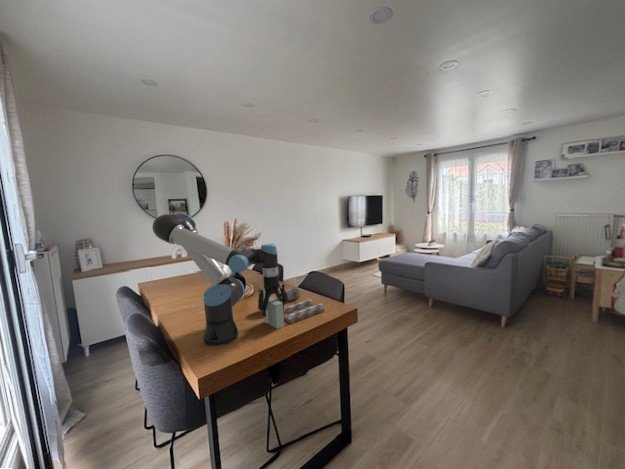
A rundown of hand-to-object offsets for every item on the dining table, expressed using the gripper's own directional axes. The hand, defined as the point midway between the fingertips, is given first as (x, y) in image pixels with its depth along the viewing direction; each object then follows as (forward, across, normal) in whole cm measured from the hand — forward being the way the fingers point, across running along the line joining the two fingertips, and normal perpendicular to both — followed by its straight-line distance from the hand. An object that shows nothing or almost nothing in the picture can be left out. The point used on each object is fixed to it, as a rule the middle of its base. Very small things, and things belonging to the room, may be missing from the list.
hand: (274, 319), depth 130 cm
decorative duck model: (+3, +27, +25) cm, 37 cm away
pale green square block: (+2, 0, 0) cm, 2 cm away
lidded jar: (+3, +6, +17) cm, 18 cm away
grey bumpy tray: (+2, +17, 0) cm, 17 cm away
